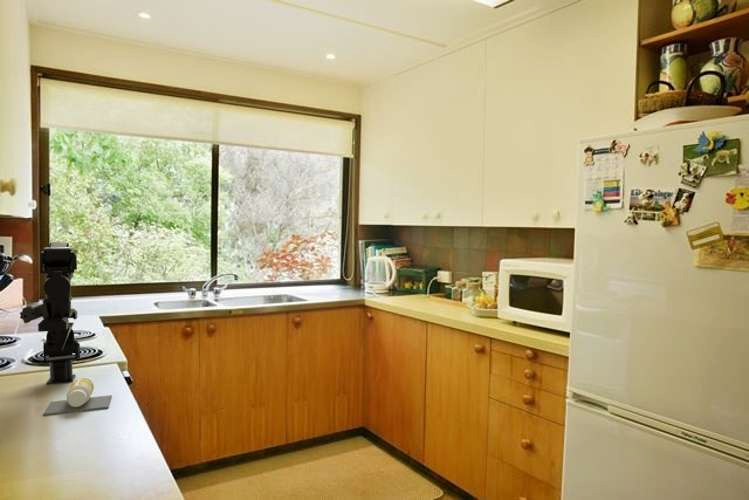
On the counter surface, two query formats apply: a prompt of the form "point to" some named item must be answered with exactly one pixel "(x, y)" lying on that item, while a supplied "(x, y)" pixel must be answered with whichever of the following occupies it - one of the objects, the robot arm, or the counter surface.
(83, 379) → the supplement bottle
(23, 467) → the counter surface
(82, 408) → the mat
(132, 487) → the counter surface
